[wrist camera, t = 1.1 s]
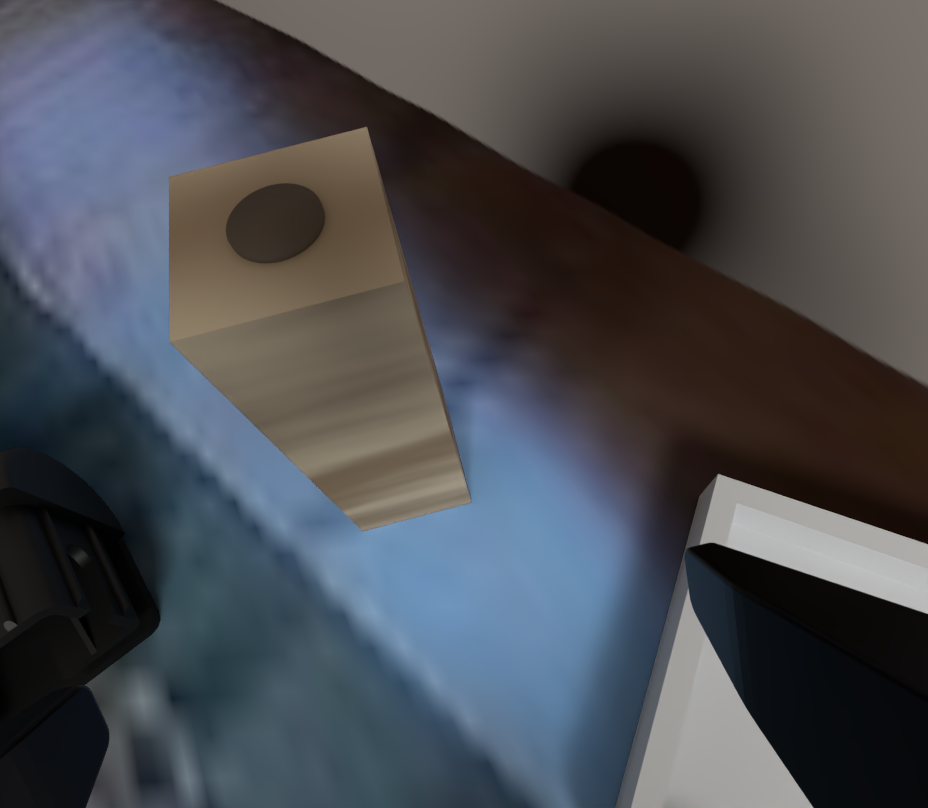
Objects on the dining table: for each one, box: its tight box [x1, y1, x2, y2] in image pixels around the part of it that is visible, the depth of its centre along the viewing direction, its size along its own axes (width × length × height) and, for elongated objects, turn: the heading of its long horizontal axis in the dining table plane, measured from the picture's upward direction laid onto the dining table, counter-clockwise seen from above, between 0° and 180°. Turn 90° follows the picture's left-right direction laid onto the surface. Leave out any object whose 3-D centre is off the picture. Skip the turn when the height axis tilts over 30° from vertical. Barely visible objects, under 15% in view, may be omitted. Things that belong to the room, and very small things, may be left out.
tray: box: [615, 474, 928, 808], centre depth 17 cm, size 13×13×2 cm
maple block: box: [169, 127, 471, 531], centre depth 18 cm, size 4×4×14 cm
